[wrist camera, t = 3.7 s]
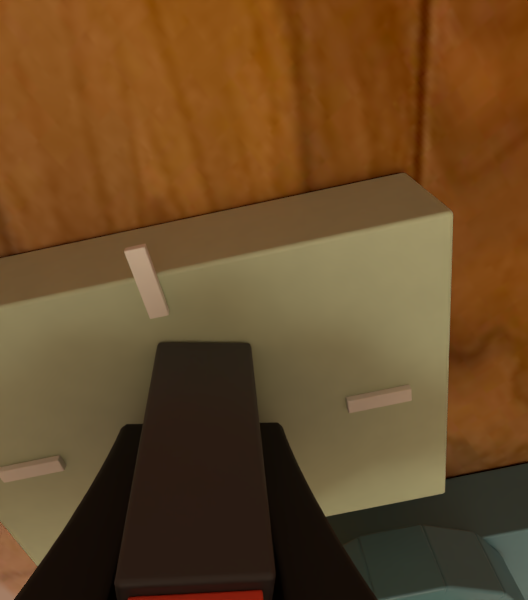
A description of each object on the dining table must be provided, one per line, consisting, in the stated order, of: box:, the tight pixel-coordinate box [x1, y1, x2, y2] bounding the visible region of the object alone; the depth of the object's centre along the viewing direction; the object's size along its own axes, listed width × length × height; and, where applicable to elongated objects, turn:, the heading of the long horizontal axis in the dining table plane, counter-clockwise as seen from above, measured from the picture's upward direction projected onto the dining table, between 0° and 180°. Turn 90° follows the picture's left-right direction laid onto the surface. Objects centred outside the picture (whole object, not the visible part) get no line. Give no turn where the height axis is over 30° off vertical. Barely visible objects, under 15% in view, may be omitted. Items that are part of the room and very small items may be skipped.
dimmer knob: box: [114, 342, 276, 600], centre depth 8 cm, size 5×2×5 cm, turn 176°
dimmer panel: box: [0, 173, 453, 567], centre depth 11 cm, size 11×9×3 cm
